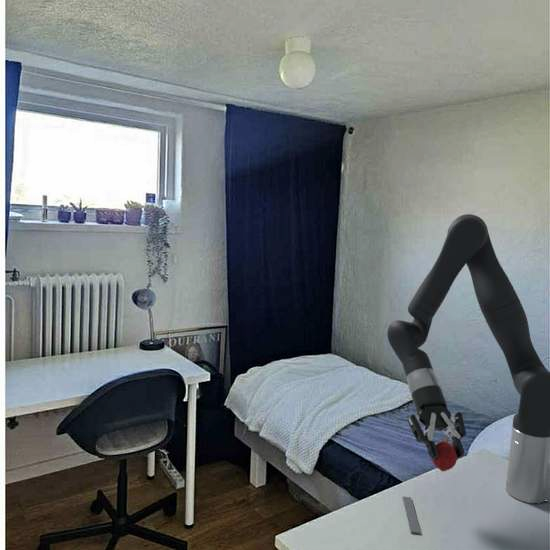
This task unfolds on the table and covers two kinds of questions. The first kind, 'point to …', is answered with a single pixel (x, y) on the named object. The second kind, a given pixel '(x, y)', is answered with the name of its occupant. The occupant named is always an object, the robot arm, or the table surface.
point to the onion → (445, 456)
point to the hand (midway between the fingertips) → (448, 457)
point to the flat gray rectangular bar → (411, 515)
